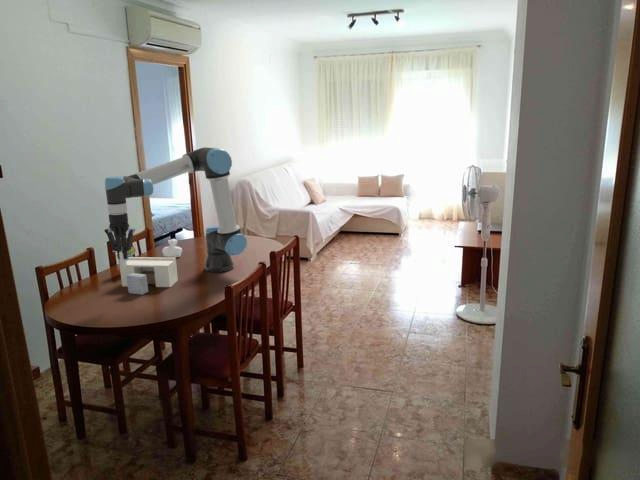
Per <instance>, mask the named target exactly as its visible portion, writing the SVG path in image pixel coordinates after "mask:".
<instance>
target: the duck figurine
mask: <svg viewBox="0 0 640 480" xmlns="http://www.w3.org/2000/svg"><path fill="white" fill-rule="evenodd" d="M167 243H168V244H169V246H165V247H163V248H162V249H161V250H162V255H163V257H164V258H180V257H181V255H182V252H183V248H182V247H180V246H177V245H178V240H177V239H176V238H171V239H168V240H167Z"/></svg>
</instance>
